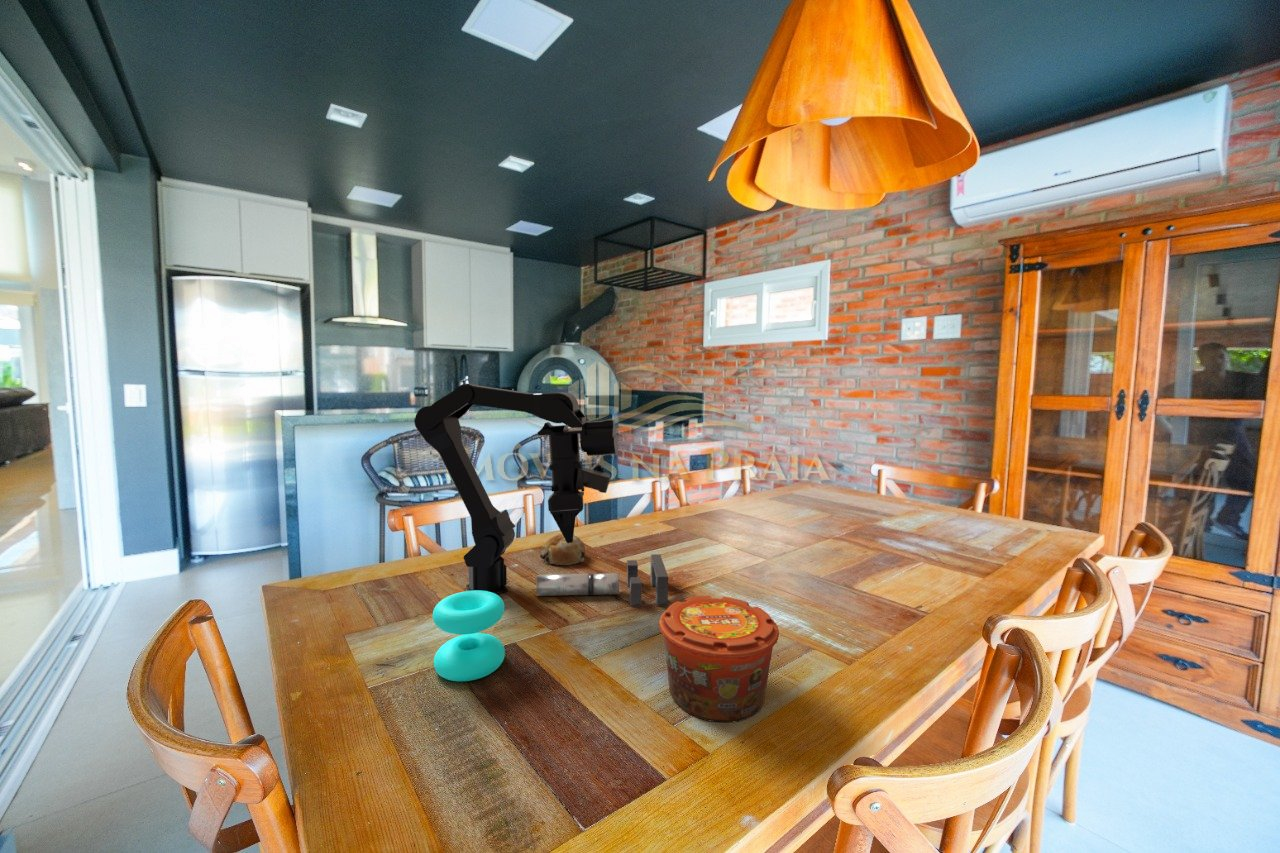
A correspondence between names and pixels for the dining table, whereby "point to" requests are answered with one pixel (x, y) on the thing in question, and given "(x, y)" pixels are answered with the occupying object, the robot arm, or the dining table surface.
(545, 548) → the bread roll
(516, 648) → the dining table surface
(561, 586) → the tube
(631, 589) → the cradle collar
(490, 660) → the donuts
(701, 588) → the dining table surface
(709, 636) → the food container
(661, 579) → the gray bridge arch
